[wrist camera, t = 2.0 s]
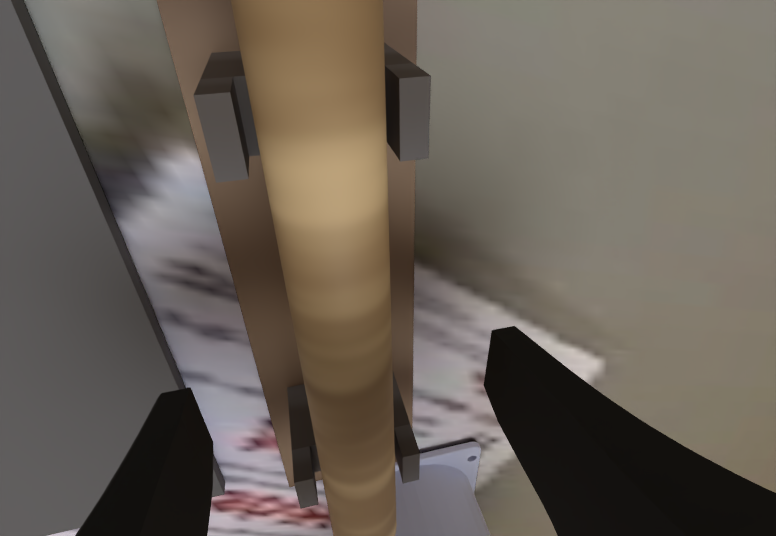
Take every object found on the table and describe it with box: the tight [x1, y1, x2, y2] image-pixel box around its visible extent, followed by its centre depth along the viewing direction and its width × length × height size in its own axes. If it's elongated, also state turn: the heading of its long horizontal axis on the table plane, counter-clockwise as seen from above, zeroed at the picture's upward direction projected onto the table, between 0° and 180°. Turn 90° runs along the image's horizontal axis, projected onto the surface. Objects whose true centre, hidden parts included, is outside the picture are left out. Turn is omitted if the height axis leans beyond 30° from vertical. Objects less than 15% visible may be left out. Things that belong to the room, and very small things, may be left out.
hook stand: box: [157, 0, 431, 508], centre depth 14 cm, size 24×6×5 cm, turn 2°
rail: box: [231, 0, 397, 536], centre depth 12 cm, size 18×2×2 cm, turn 2°
